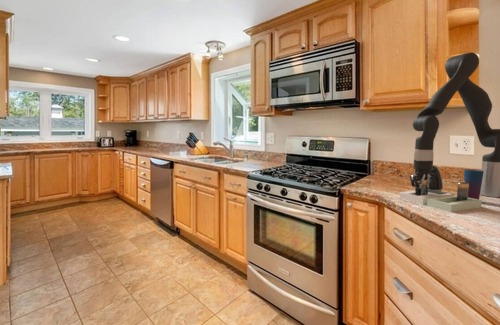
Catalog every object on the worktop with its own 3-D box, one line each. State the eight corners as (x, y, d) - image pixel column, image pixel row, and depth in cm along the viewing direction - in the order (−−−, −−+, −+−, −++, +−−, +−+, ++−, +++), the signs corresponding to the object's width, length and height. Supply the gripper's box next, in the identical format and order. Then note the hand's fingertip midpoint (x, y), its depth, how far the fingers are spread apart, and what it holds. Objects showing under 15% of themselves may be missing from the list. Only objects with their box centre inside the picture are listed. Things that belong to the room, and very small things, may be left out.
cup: (461, 199, 126) (464, 168, 124) (480, 201, 122) (483, 169, 120) (461, 202, 121) (464, 170, 119) (481, 205, 116) (484, 171, 115)
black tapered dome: (422, 196, 134) (424, 166, 132) (416, 191, 144) (417, 164, 142) (445, 197, 131) (448, 166, 129) (438, 192, 141) (439, 164, 139)
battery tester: (426, 196, 134) (427, 188, 134) (451, 201, 123) (452, 193, 122) (399, 199, 128) (400, 191, 128) (422, 205, 117) (423, 197, 117)
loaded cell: (460, 203, 117) (461, 180, 116) (469, 205, 114) (471, 181, 112) (454, 204, 116) (455, 180, 115) (463, 206, 112) (465, 182, 111)
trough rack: (455, 202, 121) (456, 195, 120) (480, 208, 111) (481, 200, 111) (426, 206, 115) (427, 198, 115) (450, 213, 106) (451, 204, 105)
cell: (420, 198, 127) (421, 176, 126) (427, 200, 124) (429, 178, 122) (414, 199, 126) (415, 177, 125) (421, 201, 122) (423, 178, 121)
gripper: (427, 157, 128) (424, 192, 130) (404, 159, 124) (403, 195, 126) (442, 159, 121) (440, 195, 123) (419, 160, 117) (417, 198, 119)
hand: (421, 195), depth 124 cm, fingers closed on cell, 3 cm apart
